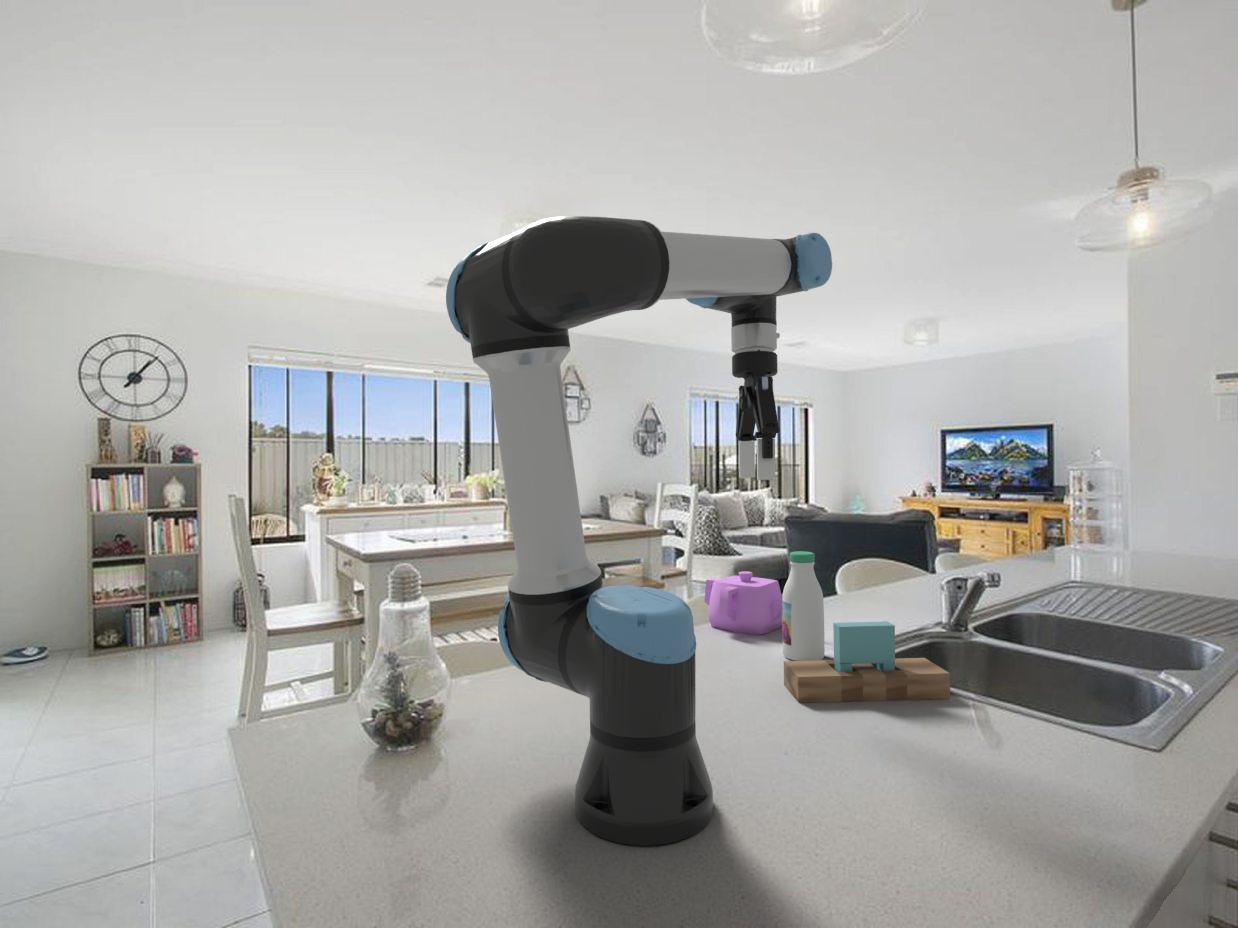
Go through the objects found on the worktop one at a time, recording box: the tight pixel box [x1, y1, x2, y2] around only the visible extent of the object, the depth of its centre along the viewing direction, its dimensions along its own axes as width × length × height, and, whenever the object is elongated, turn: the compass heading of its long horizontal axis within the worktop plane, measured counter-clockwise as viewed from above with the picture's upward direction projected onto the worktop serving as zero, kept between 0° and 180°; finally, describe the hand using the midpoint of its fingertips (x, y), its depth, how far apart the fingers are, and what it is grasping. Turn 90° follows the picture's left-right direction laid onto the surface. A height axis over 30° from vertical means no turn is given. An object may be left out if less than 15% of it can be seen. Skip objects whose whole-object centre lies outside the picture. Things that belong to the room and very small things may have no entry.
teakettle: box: [703, 570, 783, 636], centre depth 148 cm, size 17×17×12 cm
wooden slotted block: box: [783, 657, 951, 703], centre depth 106 cm, size 8×24×4 cm, turn 91°
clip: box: [832, 621, 896, 672], centre depth 106 cm, size 3×9×11 cm, turn 92°
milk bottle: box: [781, 550, 825, 661], centre depth 125 cm, size 8×8×20 cm
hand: (756, 478), depth 110 cm, fingers open, 13 cm apart
